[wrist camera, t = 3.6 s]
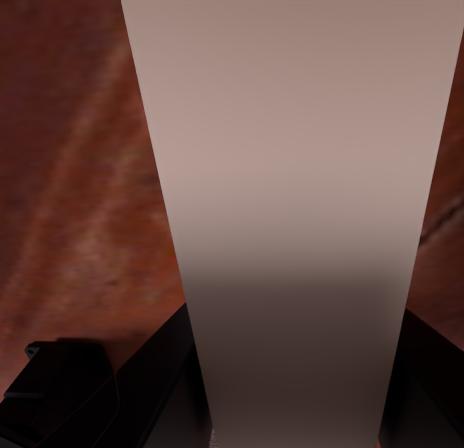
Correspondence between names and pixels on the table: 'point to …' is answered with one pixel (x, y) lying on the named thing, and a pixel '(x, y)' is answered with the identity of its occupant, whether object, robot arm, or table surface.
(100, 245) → the table surface
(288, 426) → the rail
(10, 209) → the table surface
